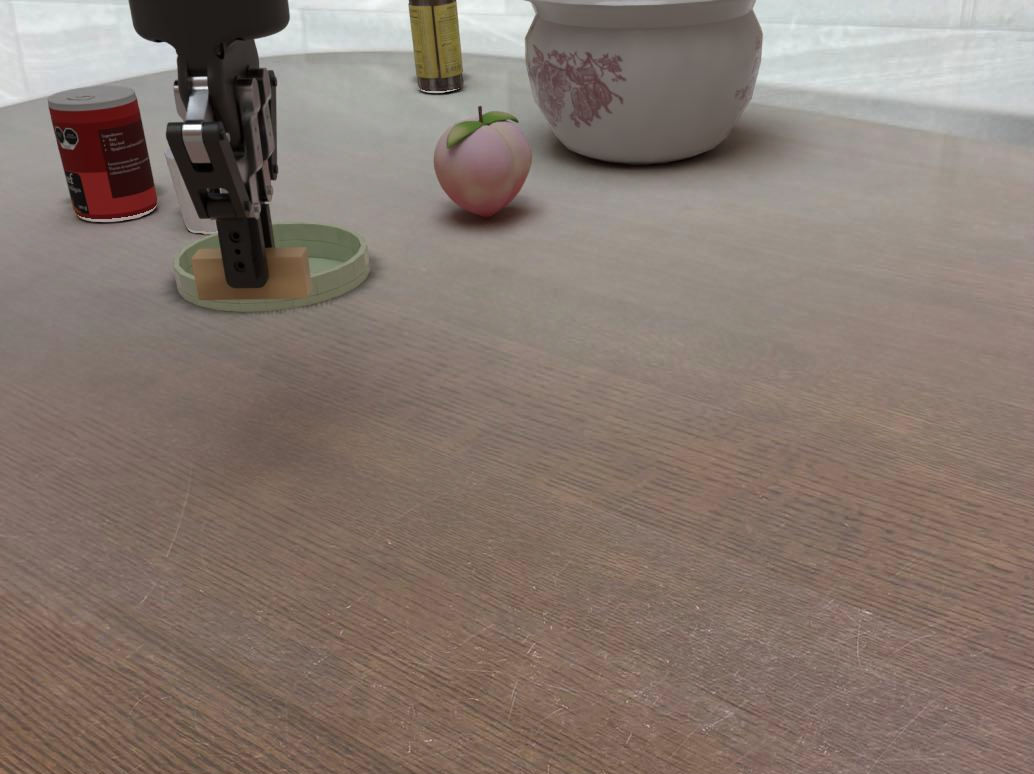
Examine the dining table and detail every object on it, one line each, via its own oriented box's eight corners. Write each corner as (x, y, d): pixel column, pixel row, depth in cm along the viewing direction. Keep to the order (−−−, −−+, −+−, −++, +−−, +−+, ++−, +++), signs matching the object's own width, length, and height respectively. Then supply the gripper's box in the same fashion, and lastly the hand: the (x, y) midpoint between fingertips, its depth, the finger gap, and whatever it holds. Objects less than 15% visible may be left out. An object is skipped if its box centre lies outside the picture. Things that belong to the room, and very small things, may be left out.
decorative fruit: (473, 198, 117) (466, 91, 111) (546, 208, 113) (543, 98, 108) (418, 226, 110) (408, 113, 105) (494, 238, 106) (487, 121, 101)
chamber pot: (744, 192, 115) (757, -47, 104) (478, 176, 123) (464, -47, 112) (789, 123, 138) (804, -80, 127) (561, 113, 146) (557, -78, 135)
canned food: (83, 203, 120) (56, 87, 114) (165, 197, 121) (142, 83, 115) (66, 226, 113) (36, 106, 108) (152, 221, 114) (127, 100, 108)
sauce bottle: (464, 83, 162) (454, -82, 151) (463, 94, 157) (452, -77, 146) (417, 85, 162) (403, -80, 151) (414, 96, 157) (399, -75, 146)
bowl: (158, 331, 90) (148, 287, 88) (208, 264, 103) (200, 224, 101) (356, 327, 90) (351, 282, 88) (382, 259, 103) (378, 219, 101)
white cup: (265, 226, 112) (253, 149, 108) (194, 241, 108) (179, 163, 105) (237, 209, 116) (224, 135, 113) (168, 223, 113) (153, 147, 110)
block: (198, 300, 66) (190, 258, 65) (206, 290, 67) (198, 248, 66) (307, 299, 66) (301, 256, 64) (312, 288, 67) (306, 246, 66)
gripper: (160, -87, 63) (216, 239, 72) (67, -56, 51) (148, 328, 60) (304, -90, 62) (341, 237, 72) (242, -60, 51) (297, 326, 60)
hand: (252, 277), depth 66 cm, fingers closed on block, 1 cm apart
